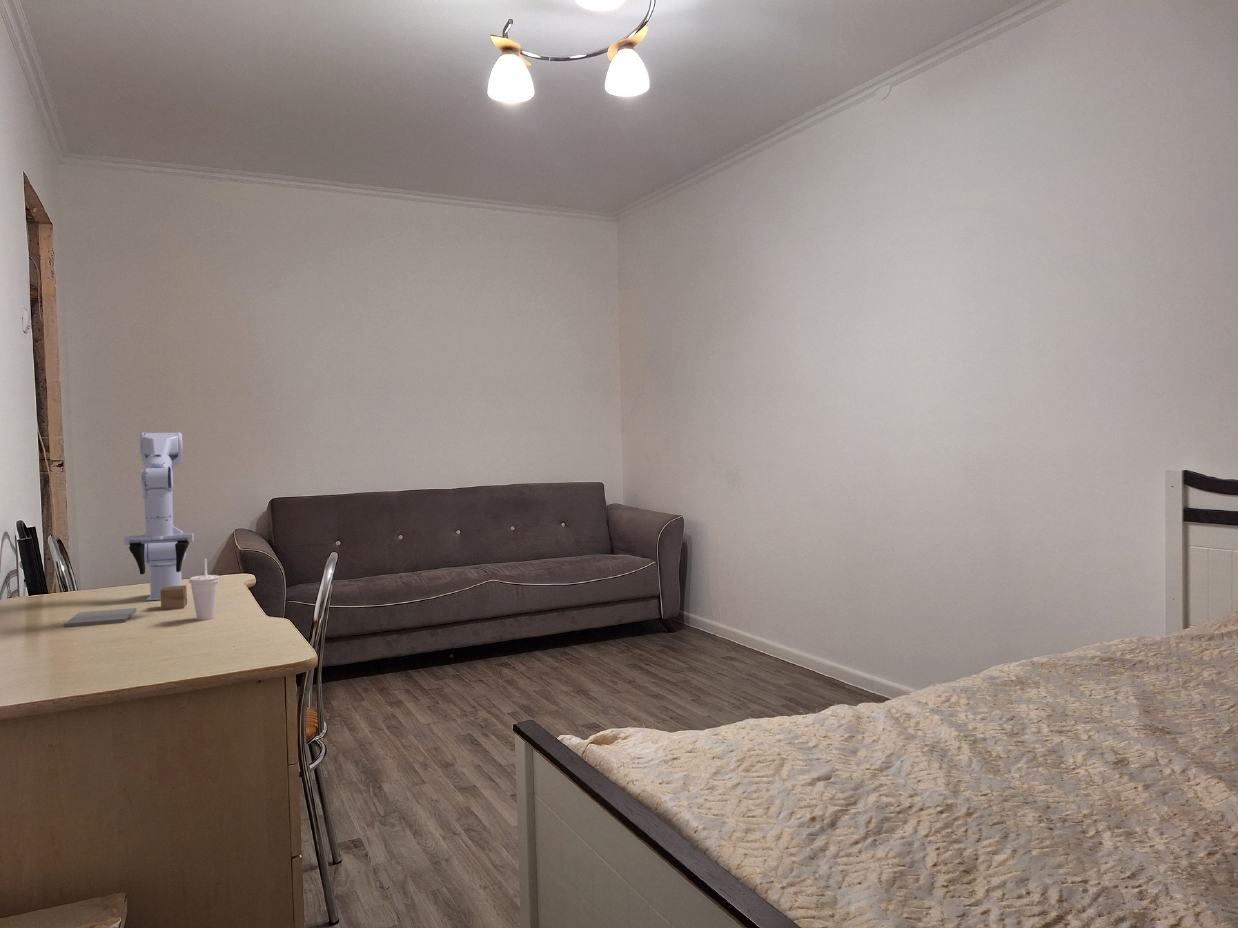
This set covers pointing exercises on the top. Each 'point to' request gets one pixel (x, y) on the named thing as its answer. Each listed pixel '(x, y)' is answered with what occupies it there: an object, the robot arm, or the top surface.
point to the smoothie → (205, 594)
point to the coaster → (100, 617)
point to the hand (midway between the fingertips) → (160, 572)
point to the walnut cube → (173, 597)
